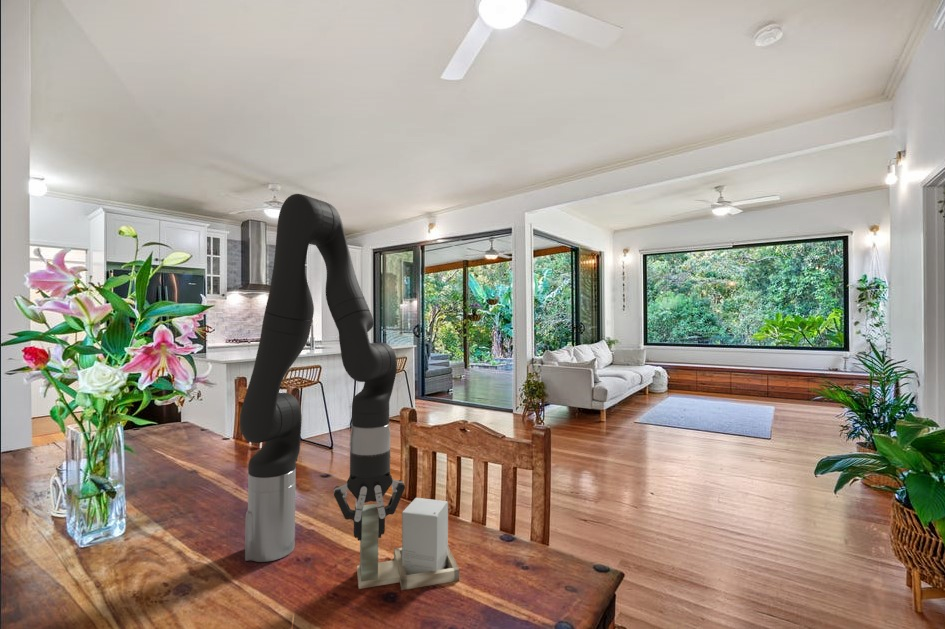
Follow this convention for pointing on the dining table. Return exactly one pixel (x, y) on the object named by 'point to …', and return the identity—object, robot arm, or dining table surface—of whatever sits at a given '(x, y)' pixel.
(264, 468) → the robot arm
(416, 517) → the supplement box
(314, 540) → the dining table surface
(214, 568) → the dining table surface
